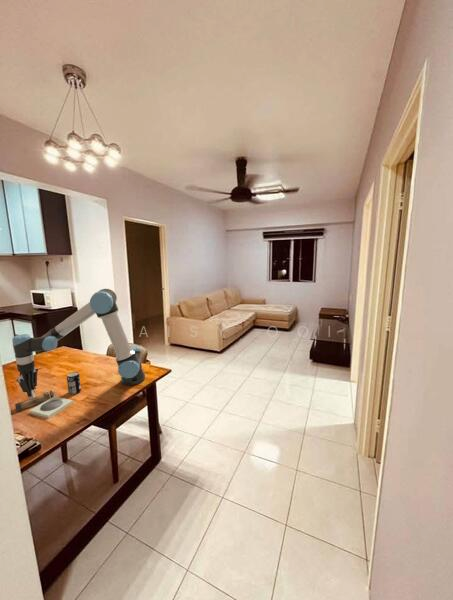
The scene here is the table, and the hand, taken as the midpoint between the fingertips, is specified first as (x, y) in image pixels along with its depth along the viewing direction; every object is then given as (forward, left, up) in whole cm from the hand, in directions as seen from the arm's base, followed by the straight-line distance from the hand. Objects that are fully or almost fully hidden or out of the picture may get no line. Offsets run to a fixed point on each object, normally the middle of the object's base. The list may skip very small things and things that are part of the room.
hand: (32, 400), depth 141 cm
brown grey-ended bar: (-3, +1, -1) cm, 3 cm away
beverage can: (-13, -16, -2) cm, 21 cm away
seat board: (-15, 0, -1) cm, 15 cm away
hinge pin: (-6, -7, -1) cm, 9 cm away
